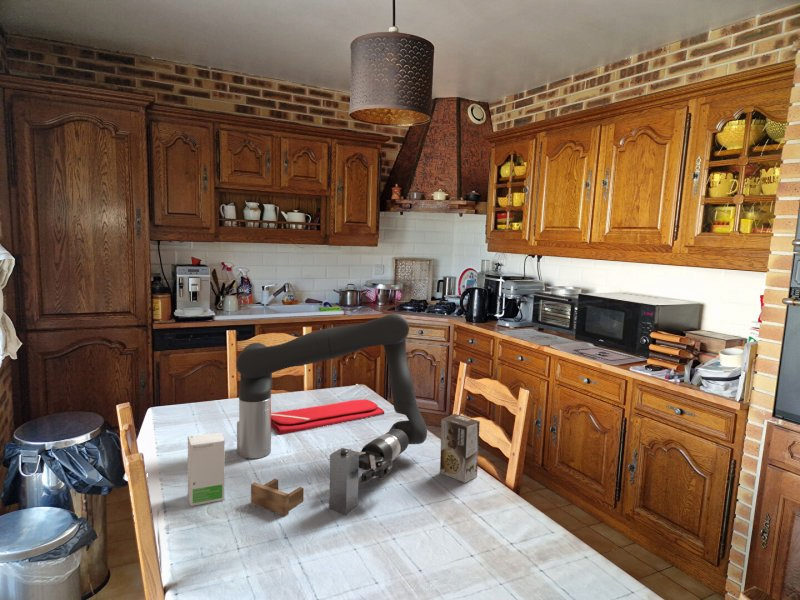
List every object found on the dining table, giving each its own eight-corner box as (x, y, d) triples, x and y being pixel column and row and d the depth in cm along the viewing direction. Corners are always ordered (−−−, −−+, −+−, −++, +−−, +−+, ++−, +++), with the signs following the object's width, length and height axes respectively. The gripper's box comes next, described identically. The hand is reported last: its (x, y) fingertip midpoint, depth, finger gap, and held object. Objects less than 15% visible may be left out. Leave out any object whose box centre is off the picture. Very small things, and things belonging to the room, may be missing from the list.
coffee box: (478, 476, 145) (481, 421, 143) (464, 483, 141) (467, 427, 139) (452, 465, 152) (454, 412, 150) (438, 472, 147) (440, 418, 145)
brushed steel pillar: (329, 509, 125) (329, 451, 124) (341, 500, 130) (342, 444, 128) (346, 515, 123) (347, 456, 121) (357, 506, 127) (359, 449, 126)
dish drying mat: (385, 415, 193) (385, 406, 193) (280, 436, 170) (280, 426, 170) (363, 403, 206) (364, 394, 206) (263, 421, 183) (263, 411, 183)
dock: (251, 503, 127) (250, 484, 127) (272, 490, 134) (272, 472, 133) (285, 516, 122) (285, 496, 121) (305, 502, 129) (306, 483, 128)
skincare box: (189, 507, 125) (188, 445, 123) (187, 494, 131) (185, 435, 129) (226, 499, 129) (225, 440, 127) (221, 488, 134) (221, 430, 132)
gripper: (359, 432, 144) (324, 453, 130) (404, 443, 137) (372, 466, 123) (359, 458, 145) (324, 481, 131) (404, 470, 138) (372, 496, 124)
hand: (347, 474), depth 127 cm, fingers open, 8 cm apart
